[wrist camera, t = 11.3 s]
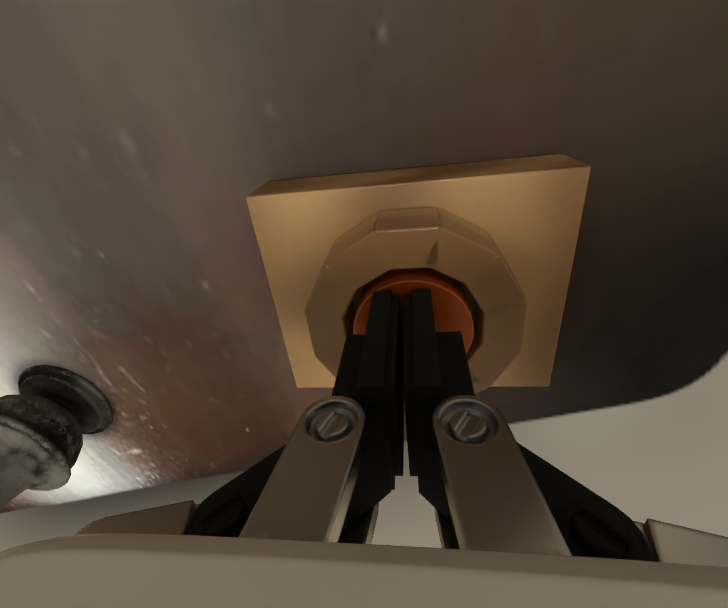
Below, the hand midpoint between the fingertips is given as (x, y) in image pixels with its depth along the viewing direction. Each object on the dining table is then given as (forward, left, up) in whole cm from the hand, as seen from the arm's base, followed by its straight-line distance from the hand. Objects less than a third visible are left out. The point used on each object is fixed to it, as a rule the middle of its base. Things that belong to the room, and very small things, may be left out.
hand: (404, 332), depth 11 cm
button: (0, 0, -2) cm, 2 cm away
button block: (0, 0, -4) cm, 4 cm away
